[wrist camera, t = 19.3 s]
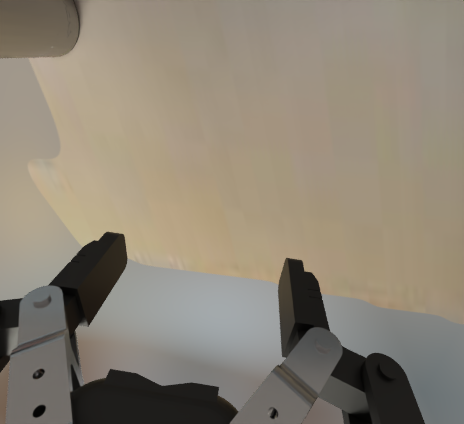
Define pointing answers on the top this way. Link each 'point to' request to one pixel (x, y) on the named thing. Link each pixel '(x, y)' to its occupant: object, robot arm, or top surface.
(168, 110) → the top surface
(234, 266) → the top surface
